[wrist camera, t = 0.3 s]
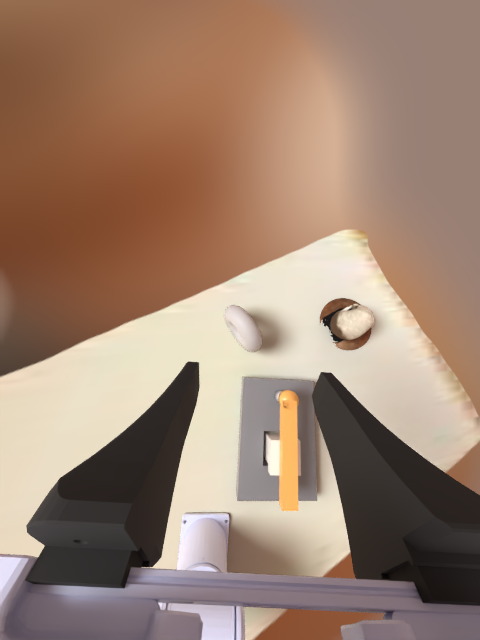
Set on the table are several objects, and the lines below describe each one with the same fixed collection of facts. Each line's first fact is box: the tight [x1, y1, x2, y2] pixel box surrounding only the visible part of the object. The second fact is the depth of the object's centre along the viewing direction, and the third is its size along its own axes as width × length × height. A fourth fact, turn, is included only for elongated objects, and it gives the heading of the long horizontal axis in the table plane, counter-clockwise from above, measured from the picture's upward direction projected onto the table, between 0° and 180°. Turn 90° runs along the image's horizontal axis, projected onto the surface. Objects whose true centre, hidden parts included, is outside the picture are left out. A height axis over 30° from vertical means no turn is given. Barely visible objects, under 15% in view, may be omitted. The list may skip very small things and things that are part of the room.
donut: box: [224, 305, 262, 352], centre depth 38 cm, size 10×4×10 cm, turn 35°
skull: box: [320, 298, 374, 350], centre depth 45 cm, size 12×10×10 cm
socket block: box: [236, 377, 317, 501], centre depth 36 cm, size 20×14×7 cm
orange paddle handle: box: [278, 390, 299, 511], centre depth 32 cm, size 16×3×2 cm, turn 177°
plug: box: [264, 431, 301, 476], centre depth 35 cm, size 8×5×6 cm, turn 177°
